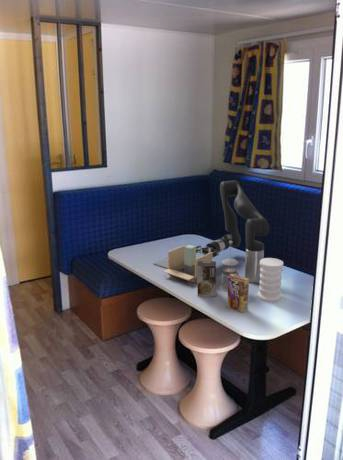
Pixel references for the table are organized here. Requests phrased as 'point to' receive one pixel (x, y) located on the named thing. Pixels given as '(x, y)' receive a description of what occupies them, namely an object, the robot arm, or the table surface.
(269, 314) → the table surface
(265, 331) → the table surface
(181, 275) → the carton
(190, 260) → the box
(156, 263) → the mat
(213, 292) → the coffee box
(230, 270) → the french press
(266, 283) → the decorative container
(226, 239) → the robot arm
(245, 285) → the candy box
